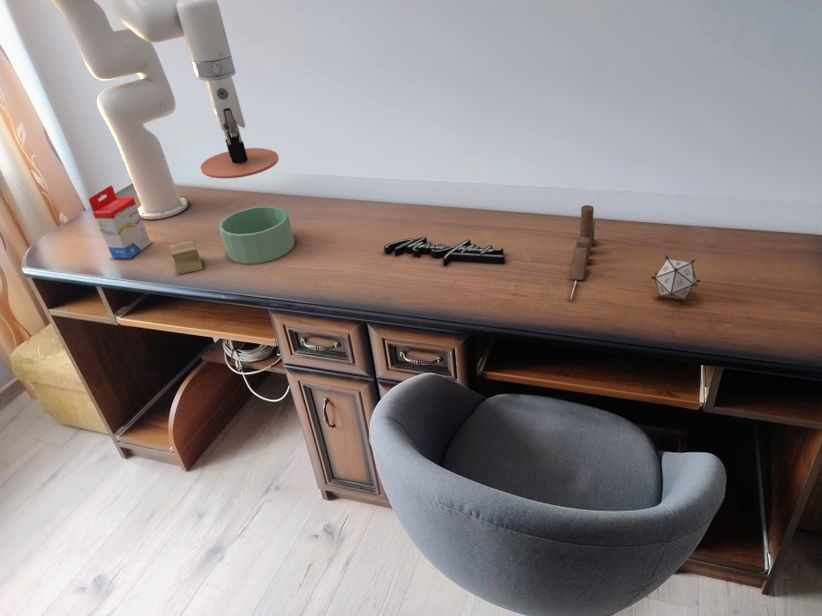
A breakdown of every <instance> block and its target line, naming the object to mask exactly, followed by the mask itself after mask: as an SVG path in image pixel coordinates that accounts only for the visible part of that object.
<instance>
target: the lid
mask: <svg viewBox="0 0 822 616" xmlns="http://www.w3.org/2000/svg"><path fill="white" fill-rule="evenodd" d="M225 139H227V137H226V136H225ZM227 143H228V140H227ZM245 151H246V154H247V158H248V160H247V161H245V162H239V163H233V162H232V160H231V157H230V155H229V151H228V150H227V151H225V152H221V153H218V154H215V155H212V156H210V157H209V158H207V159H205V160H204V161H203V162H202V163H201V165H200V171H201V173H202V174H203V175H204V176H206V177H207V178H208V177H209V178H213V179H238V178H244V177H250V176H254V175H257V174H259V173H262V172H265V171H267V170H269V169H271V168H273V167H274V166H275V165H277V164H278V162H279V159H280V157H279V154H278V153H277V152H276V151H274V150H272V149H268V148H263V147H246V148H245Z"/></svg>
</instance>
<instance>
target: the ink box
mask: <svg viewBox="0 0 822 616" xmlns="http://www.w3.org/2000/svg"><path fill="white" fill-rule="evenodd" d="M102 196H106V197H104V198H102ZM101 198H102V199H101ZM99 199H101V200H99ZM135 200H136V199H135V198H134V197H131V196H117V195H116V192H115V190H114V187H113V185H109V186H107V187H105V188H104V189H102V190H100V191H98V192H97V193H95V194H93V195H92V196H90V197H89V198H88V203H89V205H90V208H91V210H92V215H93V217H94V219H95V221H96V223H97V226H98V228H99V230H100V232H101V235H102V237H103V239H104V241H105V244H106V246H107V248H108V251H109V253H110V255H111V258H112V259H125V260H129V259H132V258H134V257H135V256H136V255H137V254H138V253H140V252H141V251H142V250H144V249H145V248H147V247H148V246H149V245H150V244H151V243H152V242H151V239H150V237H149V234H148V231H147V229H146V227H145V224H144V221H143V218H141V216H140V213H139V211H138V208H139V207H138V206H137V203H136V201H135Z"/></svg>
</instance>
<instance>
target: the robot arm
mask: <svg viewBox="0 0 822 616" xmlns="http://www.w3.org/2000/svg"><path fill="white" fill-rule="evenodd" d="M50 1H51V2H52V4H53V5H54V6H55V8H56V10H58V12H59V13H60V15H61V16H62V18H63V20H64V21H65V24H66V26H67V27H68V30H69V33H70V35H71V36H72V38H73V41H74V43H75V45H76V47H77V49H78V52H79V54H80V55H81V58H82V61H83V62H84V64H85V67H86V68H87V70H88V71H89V72H90V74H91V75H92V76H93V77H94V78H95V79H97V80H99V81H110V80H115V79H120V78H123V77H124V78H125V77H128V76H133V75H136V74H137V76H138V77H139V78H138V79H135V80H132V81H127V82H124V83H118V84H115V85H112V86H110V87H107V88H104V89H103V90H102V91H100V93H99V94H98V95H97V99H96V105H97V108H98V110H99V112H100V115H101V116H102V118H103V119H104V121H105V124H106V125H107V126H108V128H109V130H110V132H111V134H112V136H113V138H114V140H115V143H116V144H117V148H119V152H120V155H121V157H122V160H123V162H124V164H125V167H126V170H127V173H128V175H129V178H130V180H131V182H132V185H133V187H134V190H135V192H136V195H137V198H138V200H139V203H140V206H139V207H137V208H138V211H139V213H140V216H141V218H142V219H145V220H161V219H165V218H170V217H172V216H175V215H178V214H180V213H181V212H183V211H185V210H186V209H187V207H188V206H189V203H188V200H187V199H186V198H184V197H183V196H179V192H178V190H177V188H176V185H175V181H174V178H173V176H172V172H171V170H170V166H169V164H168V161H167V158H166V156H165V153H164V151H163V147H162V145H161V142H160V140H159V138H158V137H157V135H155V134H154V133H153V132H151V131H150V130H148V129H147V128H146V127H145V126H144V125H145V124H148V123H149V122H153V121H156V120H159V119H162V118H165V117H168V116H170V115H171V114H173V113H174V112H175V110H176V98H175V95H174V92H173V90H172V88H171V85H170V82H169V79H168V78H167V74H166V72H165V70H164V68H163V67H164V66H163V65H162V62H161V60H160V58H159V55H158V53H157V50H156V48H155V47H154V44H153V43H161V42H165V41H169V40H175V39H178V38H183V37H184V39H185V43H186V47H187V49H188V50H187V51H188V53H189V57H190V60H191V63H192V66H193V67H192V68H193V70H194V73H195V77H196V79H197V80H200V81H203V82H204V86H205V88H206V89H205V90H206V92H207V96H208V98H209V99H208V100H209V102H210V105H211V108H212V111H213V114H214V117H215V119H216V121H217V123H218V126H219V128H220V130H221V131H223V133H224V136H225V143H226V147H227V152H228V151H229V155H230V157H231V160H232V162H233V163H239V162H245V161H247V160H248V158H247V154H246V151H245V147H246V146H245V144H244V141H243V140H242V136H241V132H240V128H242V129H244V128H245V127H246V123H245V118H244V116H243V112H242V107H241V104H240V99H239V97H238V93H237V90H236V86H235V83H234V80H233V76H235V75H236V67H235V64H234V60H233V56H232V52H231V48H230V43H229V39H228V37H227V33H226V32H227V31H226V28H225V24H224V21H223V16H222V13H221V12H222V11H221V8H220V5H219V2H218V0H110V3H111V6H112V8H113V10H114V12H115V15H116V16H117V18H118V19H119V21H120V22H121V23H122V24H123V25H124V26H125V27H126V28H124V29H119V30H114V29H113V28H112V26H111V24H110V21H109V19H108V17H107V15H106V14H107V13H106V12H105V10H104V9H103V8H102V6H101V5H100V4H99V3H98V2H97V1H95V0H50ZM226 137H227V139H226ZM227 140H228V143H227Z"/></svg>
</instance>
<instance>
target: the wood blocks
mask: <svg viewBox="0 0 822 616" xmlns="http://www.w3.org/2000/svg"><path fill="white" fill-rule="evenodd" d="M594 208H595V207H594V206H593V205H589V204H587V205H586V204H585V205H582V206H581V208H580V225H579V236H578V237H577V239H576V242H575V247H574V250H573V257H572V258H573V259H572V265H571V273H570V280H575V281H574V283H573V288H572V291H571V294H570V300H572V299H573V296H574V292H575V289H576V286H577V280H578V281H583V280H584V278H585V274H586V271H587V265H588V263H589V260H590V254H591V253H592V246H593V244H594V242H595V230H596V228H595V227H596V219H594Z"/></svg>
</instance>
